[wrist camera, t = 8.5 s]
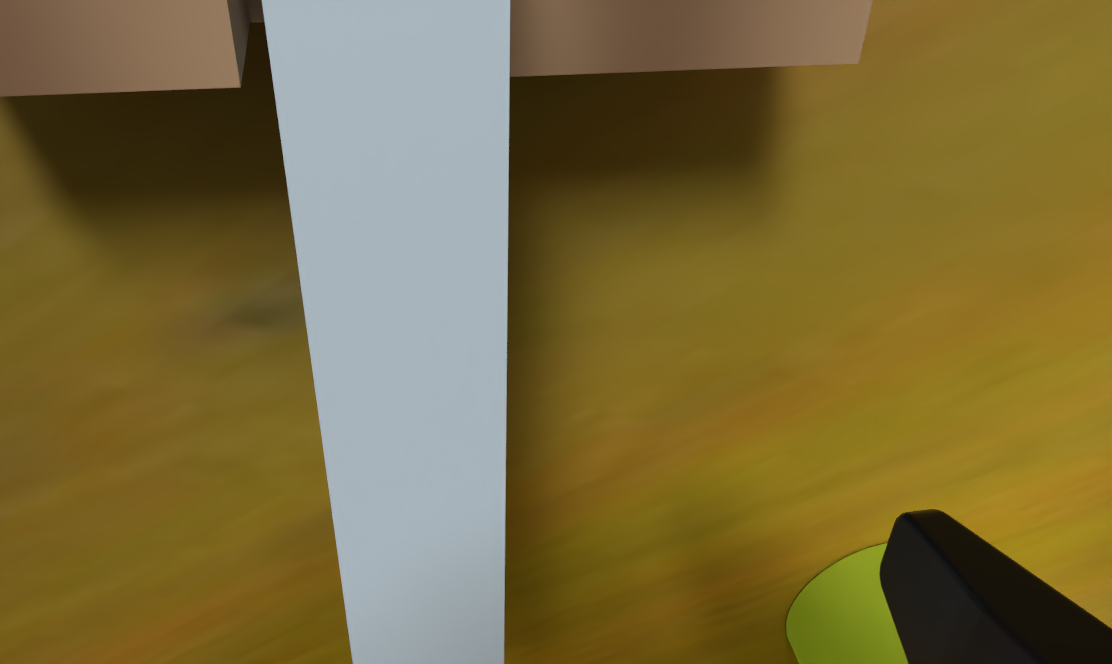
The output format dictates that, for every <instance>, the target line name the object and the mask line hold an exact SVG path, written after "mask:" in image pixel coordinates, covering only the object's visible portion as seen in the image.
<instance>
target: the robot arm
mask: <svg viewBox="0 0 1112 664" xmlns="http://www.w3.org/2000/svg"><path fill="white" fill-rule="evenodd" d="M880 582H881V587H882V590H883V593H884V596H885V599H886V602H887V604H888V607H889V610H890V613H891V616H892V619H893V622H894V624H895V627H896V630H897V633H898V636H899V639H900V641H901V644H902V647H903V650H904V653H905V656H906V658H907V661H908V664H1112V629H1111V628H1110V627H1109V626H1107V625H1106V624H1104V623H1103V622H1101V621H1100V620H1099V619H1097V618H1096V617H1094V616H1093V615H1091V614H1090V613H1088V612H1087V611H1086V610H1084V609H1083V608H1081V607H1080V606H1078V605H1077V604H1076V603H1074V602H1073V601H1071V600H1070V599H1068V598H1067V597H1065V596H1064V595H1063V594H1061V593H1060V592H1058V591H1057V590H1055V589H1054V588H1053V587H1051V586H1050V585H1048V584H1047V583H1045V582H1044V581H1042V580H1041V579H1040V578H1038V577H1037V576H1035V575H1034V574H1032V573H1031V572H1030V571H1028V570H1027V569H1025V568H1024V567H1022V566H1021V565H1019V564H1018V563H1017V562H1015V561H1014V560H1012V559H1011V558H1009V557H1008V556H1007V555H1005V554H1004V553H1002V552H1001V551H999V550H998V549H996V548H995V547H994V546H992V545H991V544H989V543H988V542H986V541H985V540H984V539H982V538H981V537H979V536H978V535H976V534H975V533H974V532H972V531H971V530H969V529H968V528H966V527H965V526H963V525H962V524H961V523H959V522H958V521H956V520H955V519H953V518H952V517H951V516H949V515H948V514H946V513H944V512H942V511H940V510H935V509H929V510H921V511H913V512H905V513H902V514H901V515H900V516H899V517H898V518H897V519H896V521H895V523H894V526H893V529H892V532H891V534H890V537H889V540H888V543H887V546H886V549H885V552H884V555H883V558H882V561H881V564H880Z"/></svg>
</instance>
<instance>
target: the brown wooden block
mask: <svg viewBox="0 0 1112 664" xmlns="http://www.w3.org/2000/svg"><path fill="white" fill-rule="evenodd" d="M872 2H873V0H510V77H521V76H546V75H572V74H598V73H624V72H650V71H676V70H702V69H728V68H753V67H779V66H805V65H831V64H857V63H859V60H860V55H861V51H862V47H863V42H864V38H865V33H866V29H867V24H868V20H869V15H870V11H871V6H872ZM257 22H265V20H264V13H263V6H262V0H0V97H3V96H29V95H55V94H81V93H106V92H132V91H158V90H184V89H210V88H236V87H241V81H242V75H243V68H244V62H245V55H246V48H247V42H248V35H249V28H250V23H257Z"/></svg>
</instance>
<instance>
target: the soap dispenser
mask: <svg viewBox="0 0 1112 664" xmlns="http://www.w3.org/2000/svg"><path fill="white" fill-rule="evenodd" d="M886 546H887V543H885V544H880V545H876V546H873V547H870V548H866V549H864V550H861V551H858V552H856V553H854V554H851V555H849V556H847V557H845V558H843V559H841V560H839V561H838V562H836V563H834V564H833V565H831V566H830V567H828V568H827V569H825V570H824V571H822V572H821V573H820V574H819V575H817V576H816V577H815V578H814V579H813V580H812V581H810V582H809V583H808V584H807V585H806V586H805V588H804V589H803V590H802V591H801V592H800V594H799V595H798V596H797V598H796V599H795V601H794V602H793V604H792V606H791V608H790V610H789V613H788V616H787V621H786V633H787V637H788V640H789V642H790V645H791V647H792V649H793V651H794V653H795V656H796V658H797V660H798V662H799V664H908V661H907V658H906V656H905V653H904V650H903V647H902V644H901V641H900V639H899V636H898V633H897V630H896V627H895V624H894V622H893V619H892V616H891V613H890V610H889V607H888V604H887V602H886V599H885V596H884V593H883V590H882V587H881V582H880V564H881V561H882V558H883V555H884V552H885V549H886Z"/></svg>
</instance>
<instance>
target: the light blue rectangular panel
mask: <svg viewBox="0 0 1112 664" xmlns="http://www.w3.org/2000/svg"><path fill="white" fill-rule="evenodd" d="M262 6H263V13H264V20H265V28H266V35H267V42H268V50H269V57H270V64H271V71H272V79H273V86H274V93H275V101H276V108H277V115H278V122H279V130H280V137H281V144H282V152H283V159H284V166H285V173H286V181H287V188H288V195H289V203H290V210H291V217H292V224H293V232H294V239H295V246H296V253H297V261H298V268H299V275H300V283H301V290H302V297H303V304H304V312H305V319H306V326H307V334H308V341H309V348H310V355H311V363H312V370H313V377H314V385H315V392H316V399H317V406H318V414H319V421H320V428H321V436H322V443H323V450H324V457H325V465H326V472H327V479H328V486H329V494H330V501H331V508H332V516H333V523H334V530H335V537H336V545H337V552H338V559H339V567H340V574H341V581H342V588H343V596H344V603H345V610H346V618H347V625H348V632H349V639H350V647H351V654H352V661H353V664H504V605H505V501H506V396H507V292H508V187H509V83H510V0H262Z"/></svg>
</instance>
